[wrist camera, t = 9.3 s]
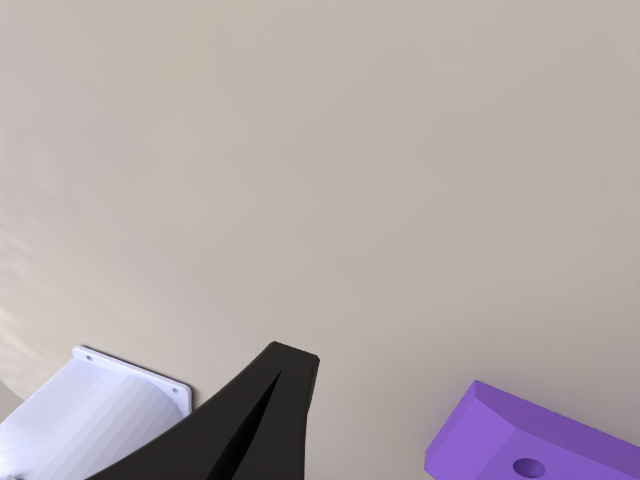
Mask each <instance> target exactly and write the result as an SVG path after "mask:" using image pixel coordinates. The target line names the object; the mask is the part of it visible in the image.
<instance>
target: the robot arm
mask: <svg viewBox="0 0 640 480" xmlns="http://www.w3.org/2000/svg"><path fill="white" fill-rule="evenodd" d="M72 352H73V357H74V358H72V359H71V360H70V361H69V362H68V363H67V364H66V365H65V366H63V367H62V368H61V369H60V370H59V371H58V372H57V373H56V374H55V375H53V376H52V377H51V378H50V379H49V380H48V381H47V382H46V383H45V384H44V385H42V386H41V387H40V388H39V389H38V390H37V391H36V392H35V393H34V394H32V395H31V396H30V397H29V398H28V399H27V400H26V401H25V402H24V403H23V404H21V405H20V406H19V407H18V408H17V409H16V410H15V411H14V412H13V413H11V415H9V416H8V417H7V418H6V419H5V420H4V422H2V424H1V425H0V480H304V464H305V437H306V425H307V414H308V411H309V407H310V404H311V400H312V395H313V391H314V386H315V381H316V376H317V372H318V367H319V362H320V359H319V358H318V356H317V355H314V354H311V353H308V352H305V351H302V350H299V349H296V348H293V347H290V346H287V345H285V344H282V343H279V342H276V341H274V342H271V343H270V344H269V345H268V346H267V347H266V348H265V349H264V350H263V351H262V352H261V353H260V354H259V355H258V356H257V357H256V358H255V359H254V360H253V361H252V362H251V363H250V364H249V365H248V366H247V367H246V368H245V369H244V370H242V371H241V372H240V373H239V374H238V375H237V376H236V377H235V378H234V379H232V380H231V381H230V382H229V383H228V384H227V385H225V386H224V387H223V388H222V389H221V390H220V391H218V392H217V393H216V394H215V395H214V396H212V397H211V398H210V399H209V400H207V401H206V402H205V403H203V404H202V405H201V406H200V407H198V408H197V409H196V410H194V411H193V412H192V409H191V389H190V388H189V387H188V386H187V385H184V384H182V383H179V382H176V381H174V380H171V379H168V378H166V377H163V376H160V375H158V374H155V373H152V372H150V371H147V370H144V369H142V368H139V367H136V366H134V365H131V364H128V363H126V362H123V361H120V360H118V359H115V358H112V357H110V356H107V355H104V354H102V353H99V352H96V351H94V350H91V349H88V348H85V347H83V346H80V345H77V346H76V347H74V348H73V349H72Z"/></svg>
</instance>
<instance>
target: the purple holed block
mask: <svg viewBox="0 0 640 480" xmlns="http://www.w3.org/2000/svg"><path fill="white" fill-rule="evenodd" d="M424 470H425V471H426V472H428V473H429V474H430V475H431V476H432V477H433V478H434V479H436V480H640V447H637V446H635V445H632V444H630V443H627V442H625V441H623V440H620V439H618V438H615V437H613V436H610V435H608V434H606V433H603V432H601V431H598V430H596V429H593V428H591V427H589V426H586V425H584V424H581V423H579V422H576V421H574V420H572V419H569V418H567V417H564V416H562V415H559V414H557V413H555V412H552V411H550V410H547V409H545V408H543V407H540V406H538V405H535V404H533V403H530V402H528V401H526V400H523V399H521V398H518V397H516V396H513V395H511V394H509V393H506V392H504V391H501V390H499V389H496V388H494V387H492V386H489V385H487V384H484V383H482V382H479V381H477V380H475V381H474V382H473V383H472V385H471V386H470V388H469V389H468V391H467V392H466V394H465V395H464V397H463V398H462V399H461V401H460V402H459V404H458V405H457V407H456V408H455V410H454V411H453V413H452V414H451V416H450V417H449V418H448V420H447V421H446V423H445V424H444V426H443V427H442V429H441V430H440V432H439V433H438V434H437V436H436V437H435V439H434V440H433V442H432V443H431V445H430V446H429V448H428V449H427V450H426V456H425V466H424Z"/></svg>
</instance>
